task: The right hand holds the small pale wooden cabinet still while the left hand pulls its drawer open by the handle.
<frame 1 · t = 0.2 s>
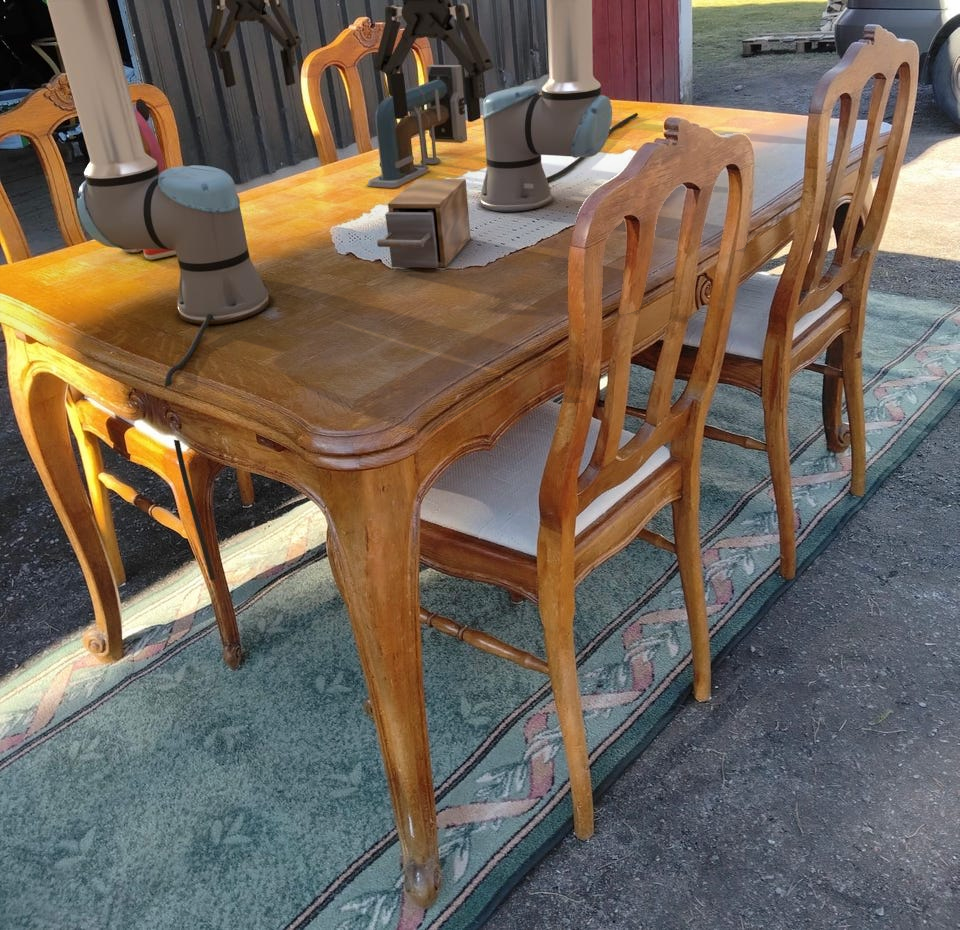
left hand: (260, 85, 196), 28 cm above the table, tool pointing down, fingers open, 13 cm apart
right hand: (437, 118, 153), 28 cm above the table, tool pointing down, fingers open, 13 cm apart
cabinet: (434, 251, 184), on the table
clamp: (419, 169, 241), on the table
drawer: (419, 232, 176), point 6 cm above the table, slide at 2.0 cm
toy: (156, 251, 198), on the table
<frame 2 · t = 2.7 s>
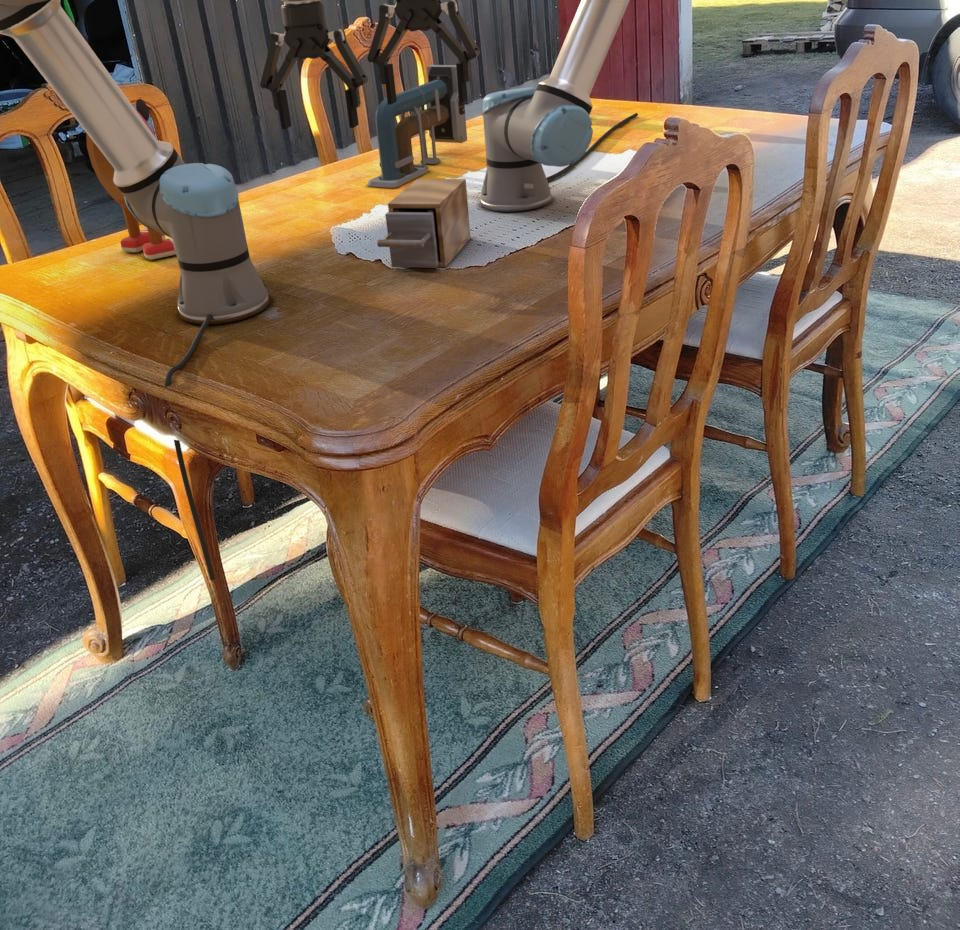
left hand: (320, 127, 180), 23 cm above the table, tool pointing down, fingers open, 13 cm apart
right hand: (427, 102, 175), 26 cm above the table, tool pointing down, fingers open, 13 cm apart
nothing on the table moved.
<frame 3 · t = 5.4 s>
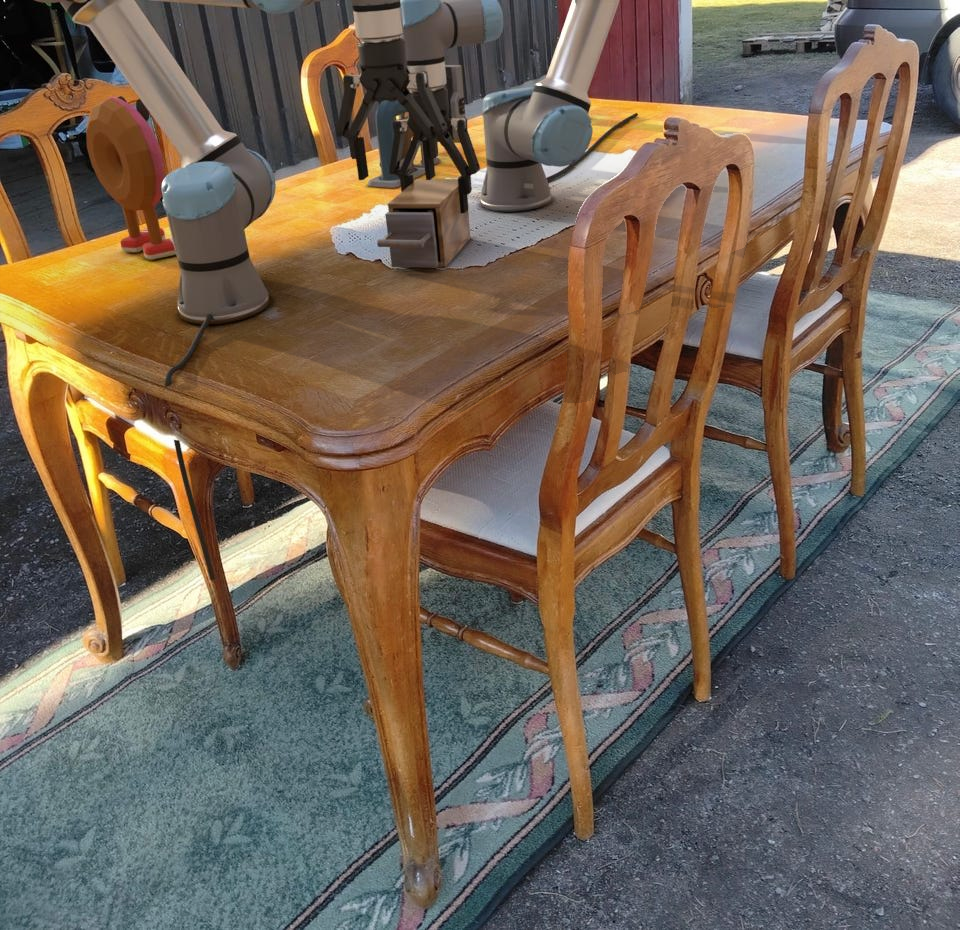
left hand: (396, 178, 164), 18 cm above the table, tool pointing down, fingers open, 11 cm apart
right hand: (438, 210, 185), 6 cm above the table, tool pointing down, fingers closed on cabinet, 10 cm apart
cabinet: (434, 251, 184), on the table, touching right hand
everything else where it was.
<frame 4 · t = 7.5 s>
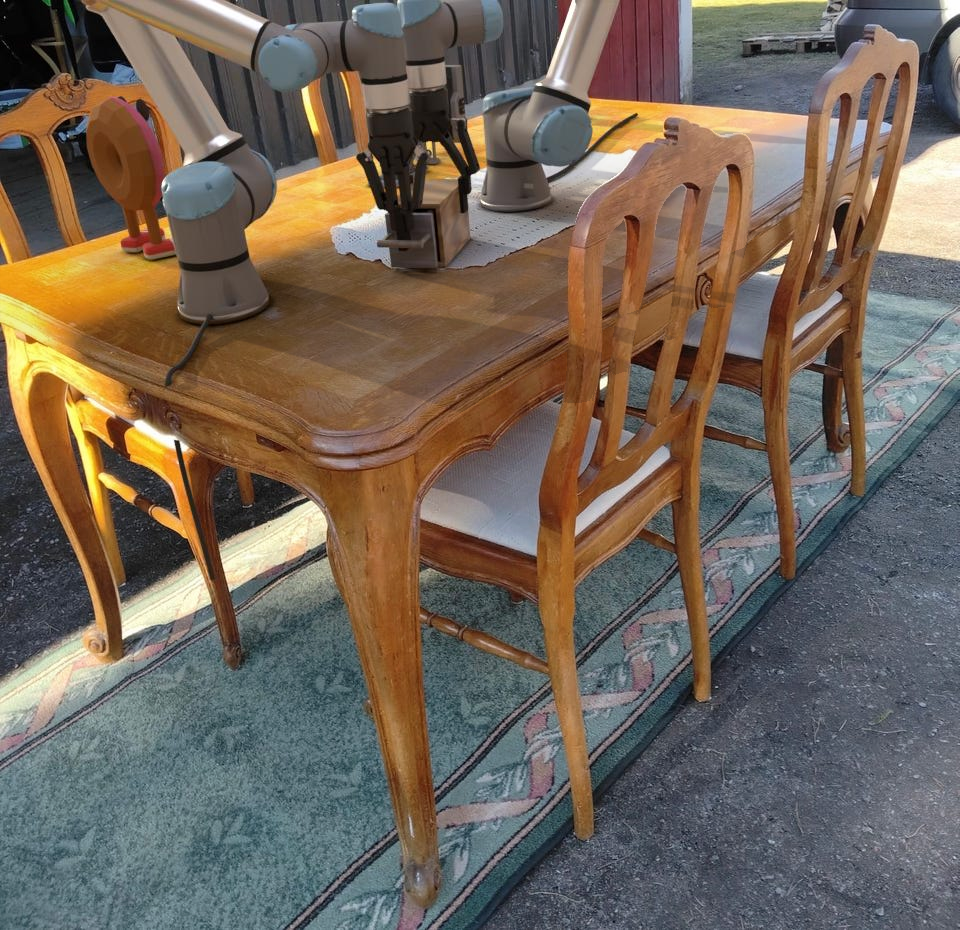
left hand: (405, 248, 170), 6 cm above the table, tool pointing down, fingers closed
right hand: (438, 210, 185), 6 cm above the table, tool pointing down, fingers closed on cabinet, 10 cm apart
cabinet: (434, 251, 184), on the table, touching right hand
drawer: (419, 233, 176), point 6 cm above the table, slide at 2.2 cm, touching left hand
everything else where it was.
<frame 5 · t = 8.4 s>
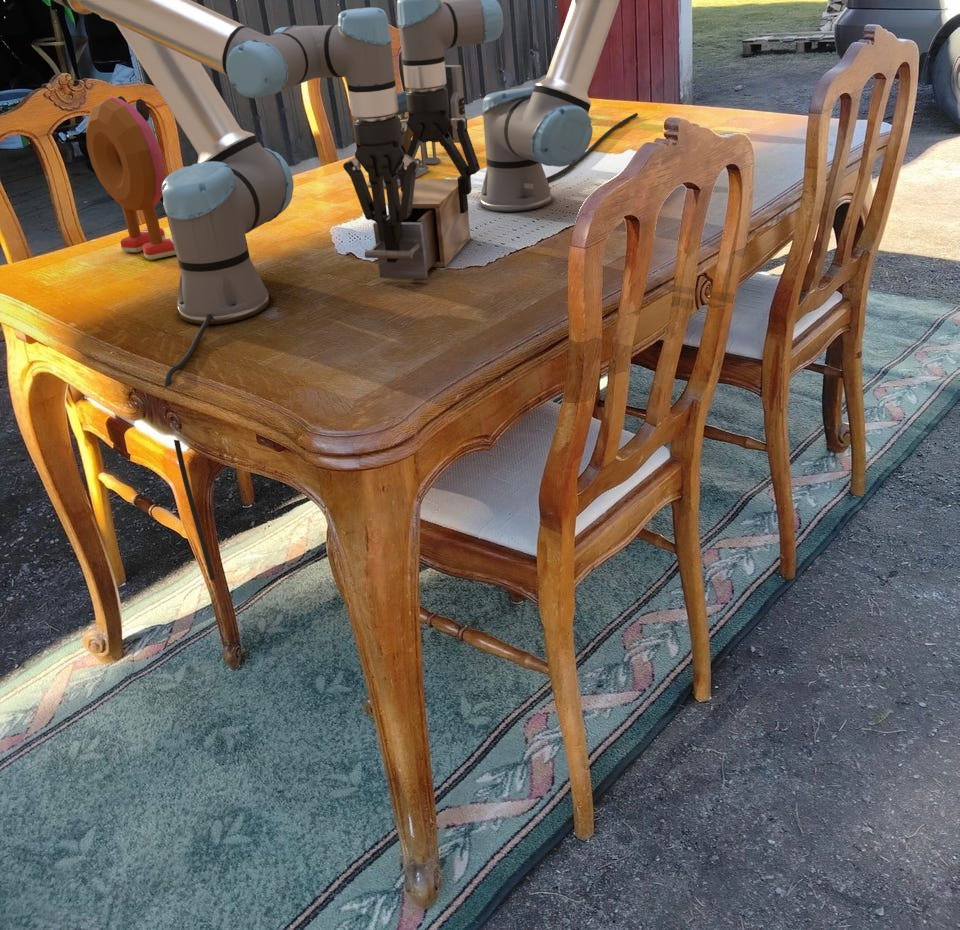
left hand: (393, 259, 165), 5 cm above the table, tool pointing down, fingers closed
right hand: (438, 211, 185), 6 cm above the table, tool pointing down, fingers closed on cabinet, 10 cm apart
cabinet: (433, 251, 184), on the table, touching right hand
drawer: (408, 243, 171), point 6 cm above the table, slide at 7.8 cm, touching left hand
everything else where it was.
when the right hand's fingers open (7 cm above the table, at t = 10.2 s): cabinet stays where it is, on the table.
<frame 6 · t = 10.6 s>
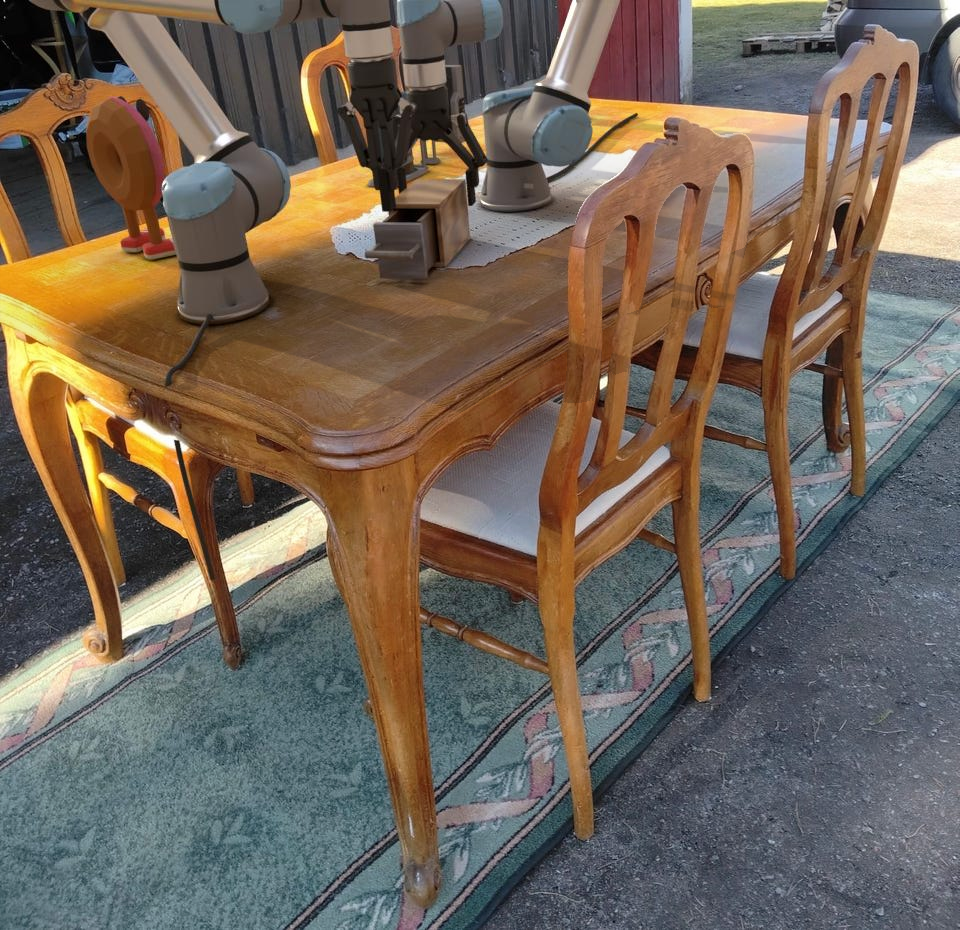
left hand: (389, 209, 161), 14 cm above the table, tool pointing down, fingers closed
right hand: (438, 204, 184), 8 cm above the table, tool pointing down, fingers open, 13 cm apart
cabinet: (433, 251, 184), on the table
drawer: (408, 243, 171), point 6 cm above the table, slide at 7.8 cm
everything else where it was.
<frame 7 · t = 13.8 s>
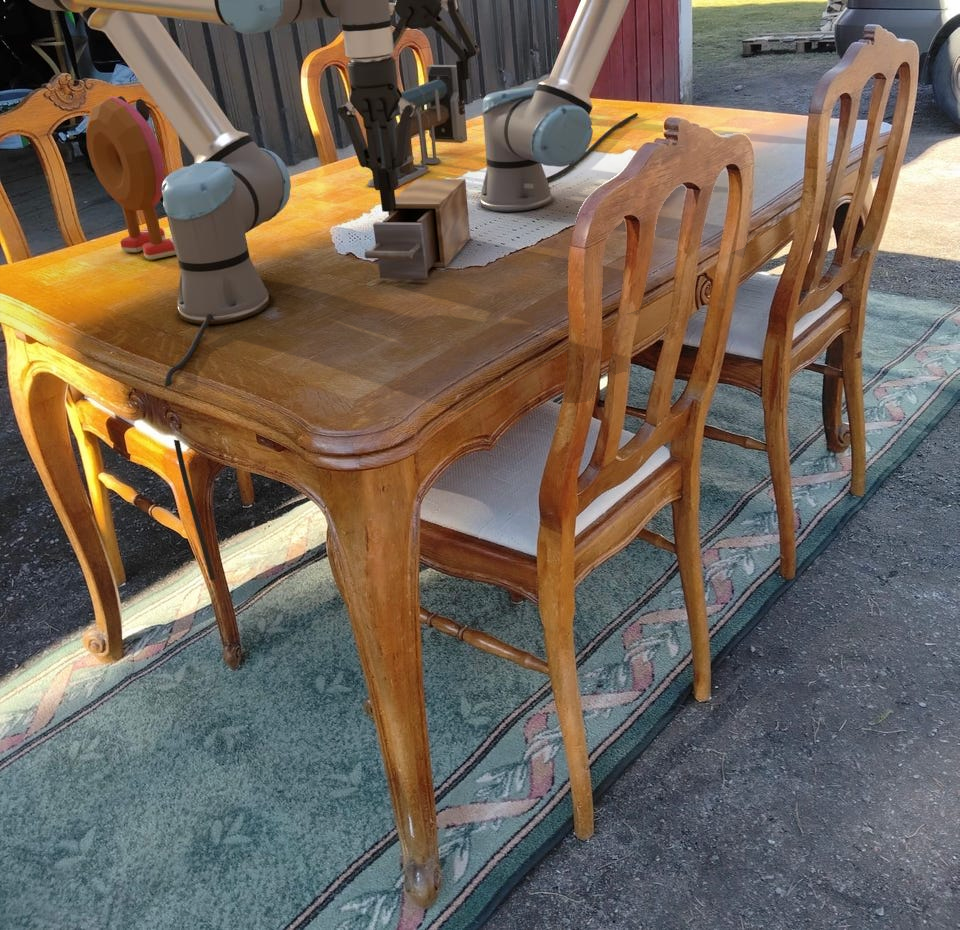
left hand: (389, 209, 161), 14 cm above the table, tool pointing down, fingers closed
right hand: (427, 100, 175), 27 cm above the table, tool pointing down, fingers open, 13 cm apart
nothing on the table moved.
at the end: drawer slide at 7.8 cm; cabinet tilted 0°; cabinet never tilted more than 1° during the clip; cabinet moved 0.1 cm from its start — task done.
